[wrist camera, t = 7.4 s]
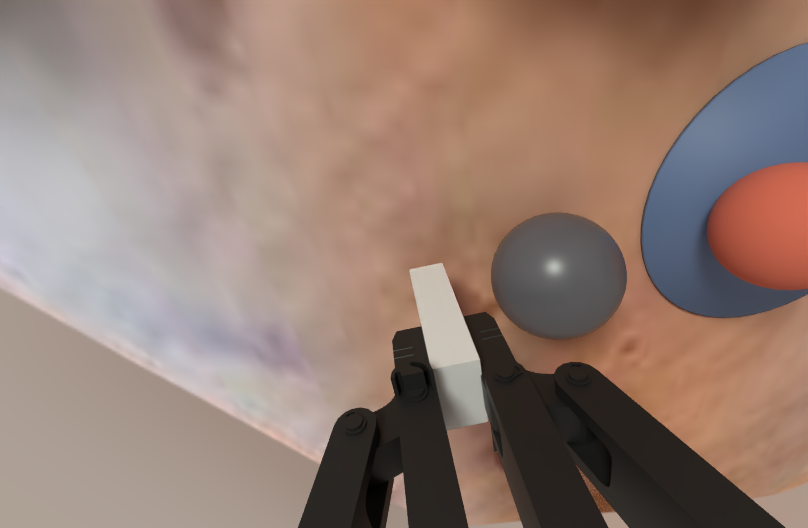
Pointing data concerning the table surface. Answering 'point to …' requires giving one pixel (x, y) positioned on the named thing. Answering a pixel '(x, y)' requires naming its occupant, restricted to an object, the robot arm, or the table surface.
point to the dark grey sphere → (558, 276)
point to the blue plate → (723, 184)
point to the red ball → (764, 227)
